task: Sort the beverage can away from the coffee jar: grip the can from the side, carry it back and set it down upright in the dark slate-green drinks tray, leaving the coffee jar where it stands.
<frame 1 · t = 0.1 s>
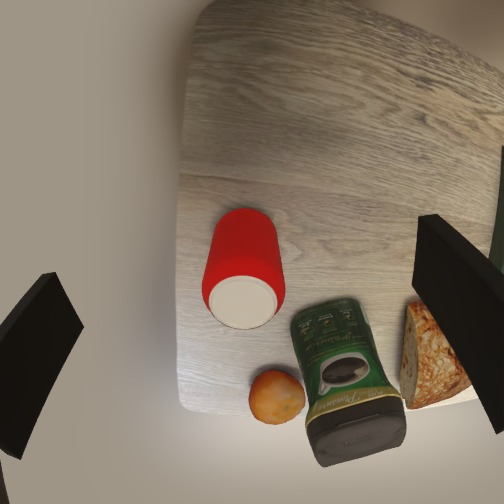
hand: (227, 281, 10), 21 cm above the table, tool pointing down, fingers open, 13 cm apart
beverage can: (245, 231, 32), on the table
coffee jar: (328, 322, 38), on the table
fruit: (275, 379, 44), on the table
bread: (443, 335, 41), on the table
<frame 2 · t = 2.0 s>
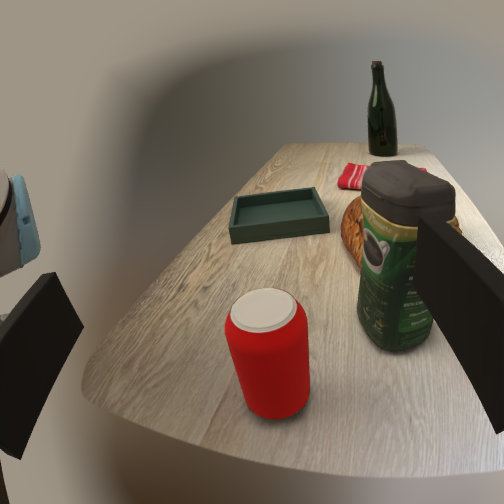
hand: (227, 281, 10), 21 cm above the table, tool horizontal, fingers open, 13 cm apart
beverage can: (278, 398, 28), on the table
coffee jar: (392, 324, 34), on the table
bread: (397, 240, 49), on the table
dish towel: (386, 182, 74), on the table
wine bottle: (383, 153, 99), on the table
drinks tray: (278, 220, 62), on the table
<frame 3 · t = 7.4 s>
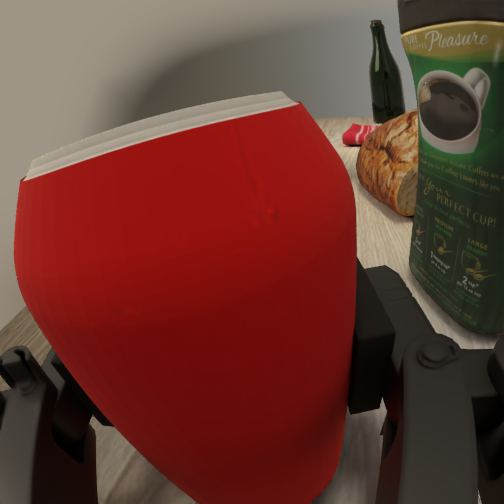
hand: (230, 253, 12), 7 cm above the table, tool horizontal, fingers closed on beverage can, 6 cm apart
beverage can: (261, 460, 10), on the table, touching gripper
coffee jar: (472, 289, 16), on the table
bread: (435, 186, 32), on the table
dish towel: (400, 140, 57), on the table
wine bottle: (390, 122, 82), on the table
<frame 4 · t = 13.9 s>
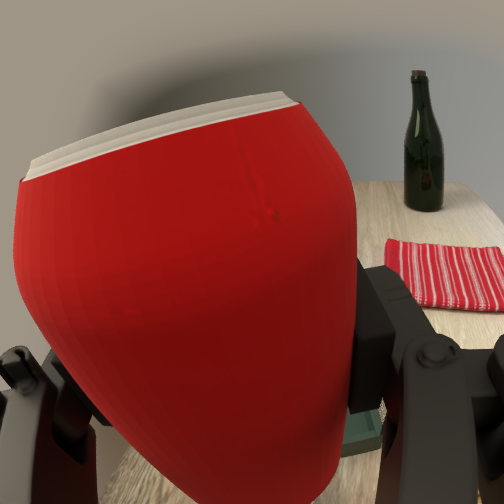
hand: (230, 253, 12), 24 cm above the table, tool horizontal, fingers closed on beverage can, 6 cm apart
beverage can: (261, 460, 10), point 17 cm above the table, touching gripper
dish towel: (449, 279, 43), on the table
wine bottle: (423, 205, 69), on the table
drinks tray: (283, 403, 31), on the table
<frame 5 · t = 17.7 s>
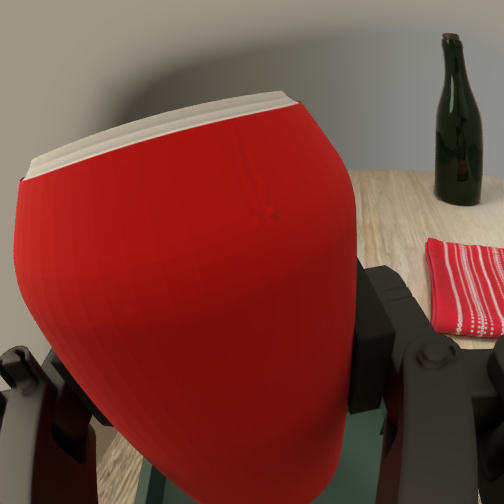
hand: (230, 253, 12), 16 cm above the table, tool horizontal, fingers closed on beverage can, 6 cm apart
beverage can: (261, 460, 10), point 10 cm above the table, touching gripper
wine bottle: (457, 198, 52), on the table
when the fingers open (7 cm above the table, at t = 20.6 s): beverage can stays where it is, resting on drinks tray.
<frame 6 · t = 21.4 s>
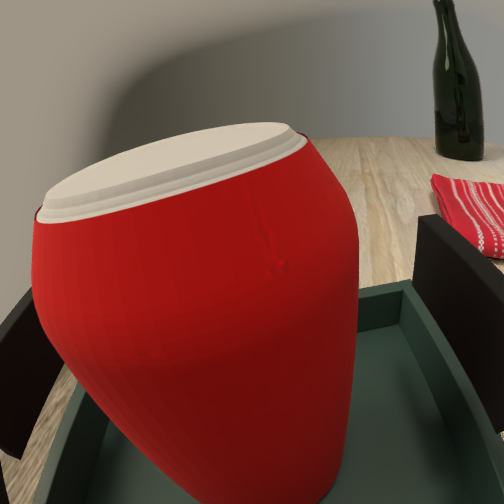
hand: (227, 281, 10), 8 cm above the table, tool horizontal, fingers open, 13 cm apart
beverage can: (266, 464, 11), point 1 cm above the table, touching drinks tray
wine bottle: (459, 155, 48), on the table
drinks tray: (265, 469, 11), on the table
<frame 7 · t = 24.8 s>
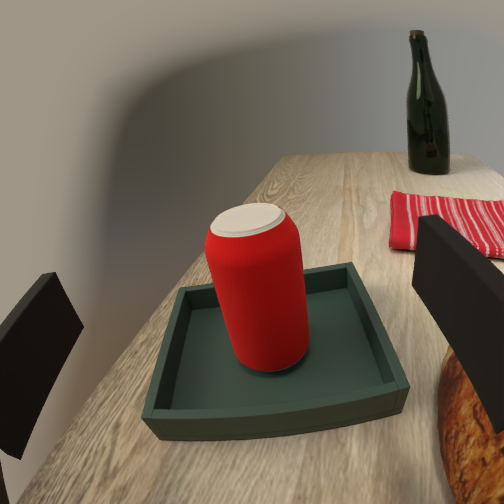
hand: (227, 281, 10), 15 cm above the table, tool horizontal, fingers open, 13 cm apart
beverage can: (273, 352, 25), point 1 cm above the table, touching drinks tray
dish towel: (464, 230, 37), on the table
wine bottle: (429, 170, 63), on the table
drinks tray: (273, 357, 26), on the table
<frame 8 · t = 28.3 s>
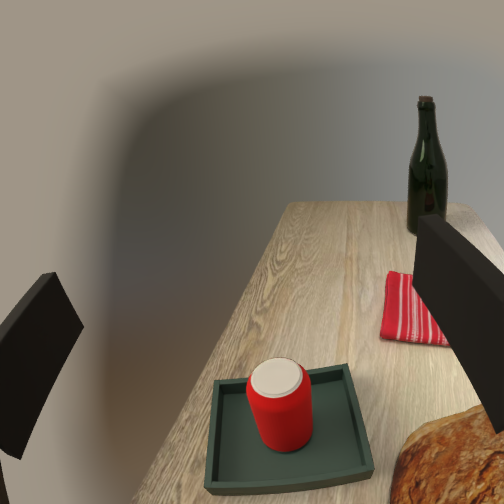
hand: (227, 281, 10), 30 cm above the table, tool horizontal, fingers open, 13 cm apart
beverage can: (287, 434, 33), point 1 cm above the table, touching drinks tray
bread: (468, 484, 20), on the table
dish towel: (446, 313, 45), on the table
wine bottle: (425, 229, 70), on the table
drinks tray: (286, 436, 33), on the table
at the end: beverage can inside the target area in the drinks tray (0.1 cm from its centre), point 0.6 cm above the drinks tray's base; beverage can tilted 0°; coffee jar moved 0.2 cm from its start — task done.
